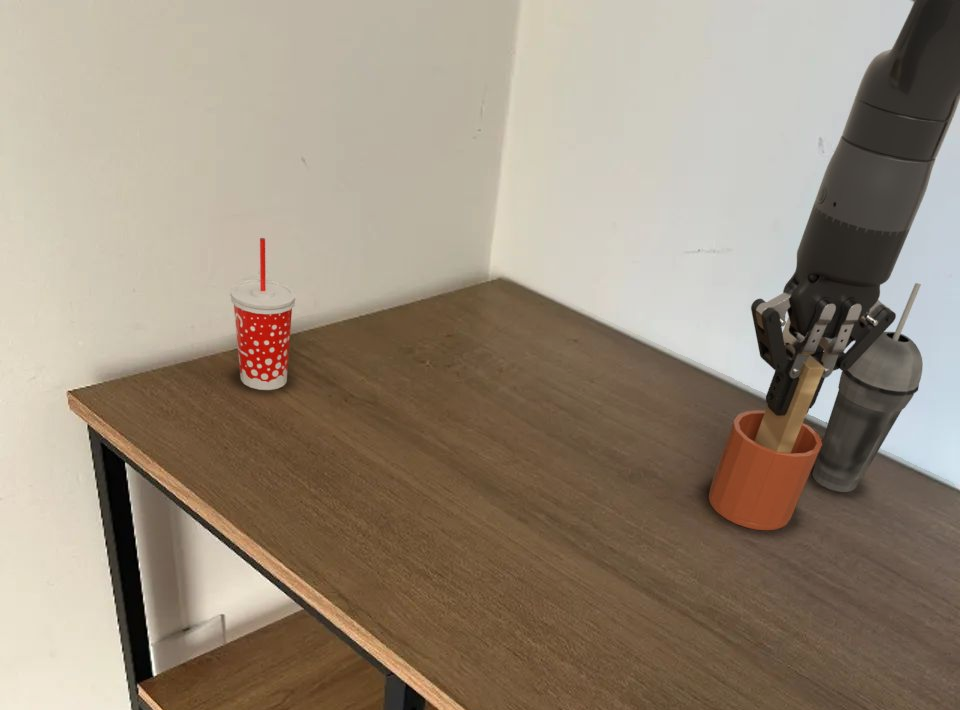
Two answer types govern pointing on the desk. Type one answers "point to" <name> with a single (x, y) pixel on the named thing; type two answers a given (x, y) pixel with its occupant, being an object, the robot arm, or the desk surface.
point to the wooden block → (790, 412)
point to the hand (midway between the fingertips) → (786, 410)
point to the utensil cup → (761, 475)
